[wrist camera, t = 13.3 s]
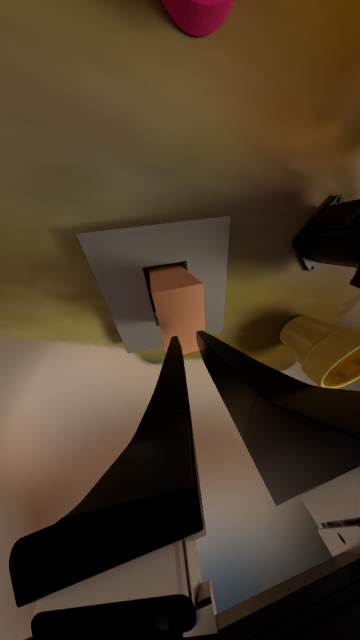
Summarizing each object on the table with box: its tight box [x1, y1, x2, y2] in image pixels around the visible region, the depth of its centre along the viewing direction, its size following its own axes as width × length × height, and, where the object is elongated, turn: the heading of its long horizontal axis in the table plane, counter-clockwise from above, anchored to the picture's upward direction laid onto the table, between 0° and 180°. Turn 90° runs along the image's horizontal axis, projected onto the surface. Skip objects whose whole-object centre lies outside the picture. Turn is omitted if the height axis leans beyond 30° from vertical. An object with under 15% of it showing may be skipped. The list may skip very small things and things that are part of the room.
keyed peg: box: [149, 264, 205, 354], centre depth 14 cm, size 6×4×9 cm, turn 7°
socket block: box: [76, 216, 231, 353], centre depth 17 cm, size 14×14×3 cm
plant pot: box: [280, 316, 360, 389], centre depth 24 cm, size 10×10×10 cm
